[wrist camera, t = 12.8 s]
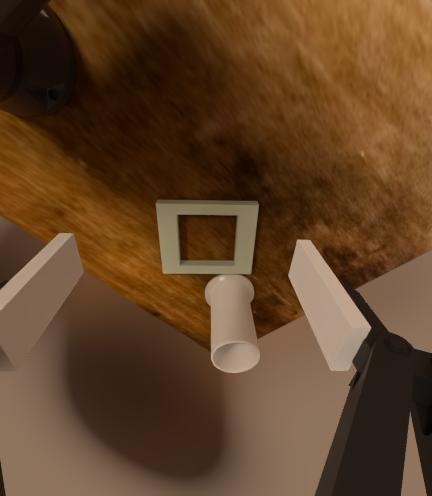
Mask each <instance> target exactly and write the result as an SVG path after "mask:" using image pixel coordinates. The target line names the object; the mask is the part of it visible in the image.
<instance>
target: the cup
mask: <svg viewBox="0 0 432 496" xmlns="http://www.w3.org/2000/svg"><path fill="white" fill-rule="evenodd" d="M211 359H212V363H213V364H214V366H215V367H217V368H218V369H220V370H222V371H225V372H230V373H237V372H244V371H247V370H249V369H251V368H253V367H254V366H255V365H256V364H257V363H258V361H259V359H260V352H259V346H258V341H257V336H256V331H255V326H254V321H253V316H252V311H251V306H250V301H249V295H248V291H247V288H246V286H245V285H244V284H242V283H241V282H239V281H236V280H224V281H221V282H219V283H218V284H216V285H215V286H214V287H213V289H212V291H211Z"/></svg>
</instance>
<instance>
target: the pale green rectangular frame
mask: <svg viewBox="0 0 432 496" xmlns="http://www.w3.org/2000/svg"><path fill="white" fill-rule="evenodd" d="M258 208H259V204H258V202H257V201H219V200H157V202H156V212H157V221H158V231H159V240H160V250H161V259H162V269H163V274H251V269H252V261H253V252H254V243H255V235H256V226H257V217H258ZM178 215H237V221H236V236H235V250H234V261H226V260H181V256H180V239H179V222H178Z"/></svg>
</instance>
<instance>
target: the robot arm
mask: <svg viewBox="0 0 432 496" xmlns="http://www.w3.org/2000/svg"><path fill="white" fill-rule="evenodd" d="M50 1H51V0H0V110H3V111H5V112H8V113H10V114H14V115H18V116H24V117H38V116H46V115H50V114H53V113H55V112H57V111H58V110H60V109H61V108H62V107H63V106H64V105H65V104H66V103H67V102H68V100H69V98H70V96H71V94H72V92H73V89H74V85H75V78H76V66H75V58H74V54H73V50H72V46H71V43H70V41H69V38H68V36H67V34H66V32H65V29H64V28H63V26H62V24H61V22H60V21H59V19H58V18H57V16H56V15H55V13H54V12H53V11H52V10H51V8H50V7H49V6H48V5H47V4H48V3H49V2H50ZM83 273H84V270H83V266H82V263H81V259H80V256H79V252H78V249H77V245H76V242H75V238H74V234H73V233H59V234H58V235H57V236H56V237H55V238H54V239H53V240H52V241H51V242H50V243H49V244H48V245H47V246H46V247H45V248H43V249H42V250H41V251H40V252H39V253H38V254H37V255H36V256H35V257H34V258H33V259H32V260H31V261H30V262H29V263H28V264H27V265H26V266H25V267H24V268H23V269H22V270H20V271H19V272H18V273H17V274H16V275H15V277H13V279H11V280H10V281H4V282H2V283H0V371H17V370H18V368H19V367H20V365H21V364H22V362H23V361H24V360H25V358H26V356H27V355H28V354H29V352H30V351H31V349H32V348H33V346H34V345H35V343H36V342H37V340H38V339H39V337H40V336H41V334H42V333H43V332H44V330H45V329H46V327H47V326H48V324H49V323H50V321H51V320H52V318H53V317H54V315H55V314H56V313H57V311H58V309H59V308H60V307H61V305H62V304H63V302H64V301H65V299H66V298H67V296H68V295H69V293H70V292H71V290H72V289H73V288H74V286H75V285H76V283H77V282H78V280H79V279H80V277H81V275H82V274H83ZM288 276H289V279H290V281H291V283H292V285H293V288H294V290H295V292H296V294H297V296H298V299H299V301H300V303H301V305H302V308H303V310H304V312H305V314H306V316H307V319H308V321H309V323H310V326H311V328H312V330H313V332H314V334H315V336H316V339H317V341H318V343H319V346H320V348H321V350H322V352H323V355H324V357H325V359H326V361H327V364H328V366H329V368H330V370H331V371H348V369H349V368H350V366H351V364H352V362H353V364H354V366H355V367H356V369H357V372H356V374H355V375H354V377H353V379H352V380H351V383H350V384H349V386H351V387H350V390H349V393H348V396H347V400H346V403H345V406H344V409H343V412H342V415H341V418H340V421H339V424H338V427H337V430H336V433H335V436H334V439H333V442H332V445H331V448H330V451H329V454H328V457H327V460H326V463H325V466H324V469H323V472H322V475H321V478H320V481H319V484H318V488H317V490H316V493H315V496H401V488H402V479H403V470H404V461H405V452H406V443H407V433H408V424H409V416H410V412H411V417H412V422H413V427H414V432H415V437H416V442H417V447H418V452H419V457H420V462H421V468H422V473H423V478H424V482H425V487H426V493H427V496H432V353H428V352H425V351H421V350H417V349H414V348H413V347H412V345H411V344H410V343H408V342H407V341H406V340H405V339H404V338H402V337H400V336H398V335H396V334H393V333H389V331H388V330H387V329H386V328H385V326H384V325H383V324H382V322H381V321H380V320H379V318H378V317H377V316H376V315H375V313H374V312H373V311H372V309H370V307H369V306H368V304H367V303H366V302H365V300H364V299H363V298H362V296H361V295H360V293H358V292H357V291H356V290H355V289H353V288H352V287H351V286H342V285H341V284H340V282H339V281H338V279H337V278H336V276H335V275H334V274H333V272H332V271H331V269H330V268H329V266H328V265H327V264H326V262H325V261H324V259H323V258H322V256H321V255H320V254H319V252H318V251H317V249H316V248H315V247H314V245H313V244H312V242H311V241H310V240H297V244H296V248H295V252H294V256H293V260H292V263H291V267H290V271H289V275H288ZM0 496H6V495H5V489H4V482H3V476H2V469H1V463H0Z"/></svg>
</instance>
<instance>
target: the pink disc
mask: <svg viewBox="0 0 432 496" xmlns="http://www.w3.org/2000/svg"><path fill="white" fill-rule="evenodd" d="M224 280H236V281H239V282H241V283H242V284H244V285H245V286H246V288H247V291H248V295H249V301H250V303H251V302H252V300H253V297H254V288H253V284H252V283H251V281H250V280H249V279H248V278H247V277H245V276H244V275H242V274H219V275H217V276H215V277H213V278H212V279H211V280H210V281H209V282H208V284H207V285H206V288H205V299H206V301H207V303H208V304H209V305H210V306H211V291H212V289H213V287H214V286H215V285H216V284H218V283H219V282H221V281H224Z"/></svg>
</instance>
